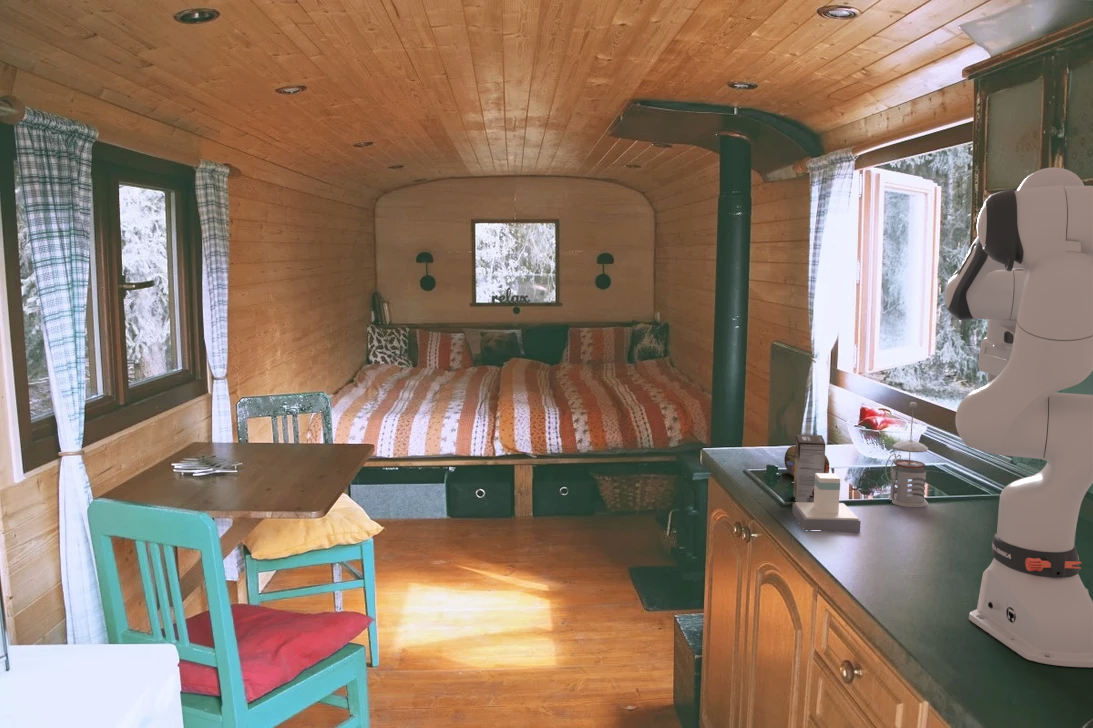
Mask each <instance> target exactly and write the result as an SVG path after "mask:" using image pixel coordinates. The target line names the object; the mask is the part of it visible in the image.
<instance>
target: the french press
mask: <svg viewBox="0 0 1093 728" xmlns="http://www.w3.org/2000/svg"><path fill="white" fill-rule="evenodd" d="M908 407H909V408H912V410H911V423H910V424H911V425H910V426H911V427H910V439H909V440H907V439H906V440H901V441H898V442H896V443H894V444H892V447H893V449H894V450H895V451H900V452H904V453H909V455H908V459H905V458H904V459H901V458H902V455H901V454H898V455H897V456H896V453H892V454H890V455H889V457H888V458H887V461H886V463H885V468H884V473H885V477H886V479H887V480H888V481H889V482H890V494H889V495H888V496H887V497H888V498H889V499H890V500H892V503H893V505H897V506H900V507H907V508H923V507H927V506H928V505H929V502H928V501H927V500H926V499H925V495H926V492H925V491H926V487H925V486H926V480H927V470H926V469H925V468H924V467H925V466H926V464H925V463H924V462H922V461H918V460H914V459H913V460H912V459H911V453H924V452H925V453H926V452H927V451H928V450H929V447H928V446H926V445H925V444H924V443H921V442H919V441H917V440H913V439H912V434H913V418H914V408H917V407H918V403H917V402H915V401H911V402H910V403H909V404H908ZM893 455H894V459H893V460H892V462H891V465H890V474H889V475H890V478H891V479H889V476H888V474H887V471H888V470H887V468H888V467H887V466H888V463H889V460H890V459H891V457H892V456H893ZM898 457H899V458H898ZM897 471H898V472H897ZM909 480H910V481H909ZM909 485H910V486H909ZM896 486H897V487H896ZM908 490H909V491H908ZM892 503H891V504H892Z"/></svg>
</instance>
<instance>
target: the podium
mask: <svg viewBox="0 0 1093 728" xmlns="http://www.w3.org/2000/svg"><path fill="white" fill-rule="evenodd" d="M791 515H792V516H793V517H794V519H795V520H796V521H797V522H798V524H799V523H800V524H799V525H800V527H801V528H802V527H803V528H804V529H803V528H802V529H803V531H804V530H821V531H820V532H833V531H840V533H861V524H862V523H861V521H862V520H860V518H859V517H858V516H857V515H856V514H855V513H854V512H853V511H852V510H851V509H850V508H849V507H848V506H847V505H846V503H844V502H839V512H838V513H818V512H817V511H816V509H815V508H814V502H795V501H794V502H793V503H792V511H791ZM842 531H843V532H842Z"/></svg>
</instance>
